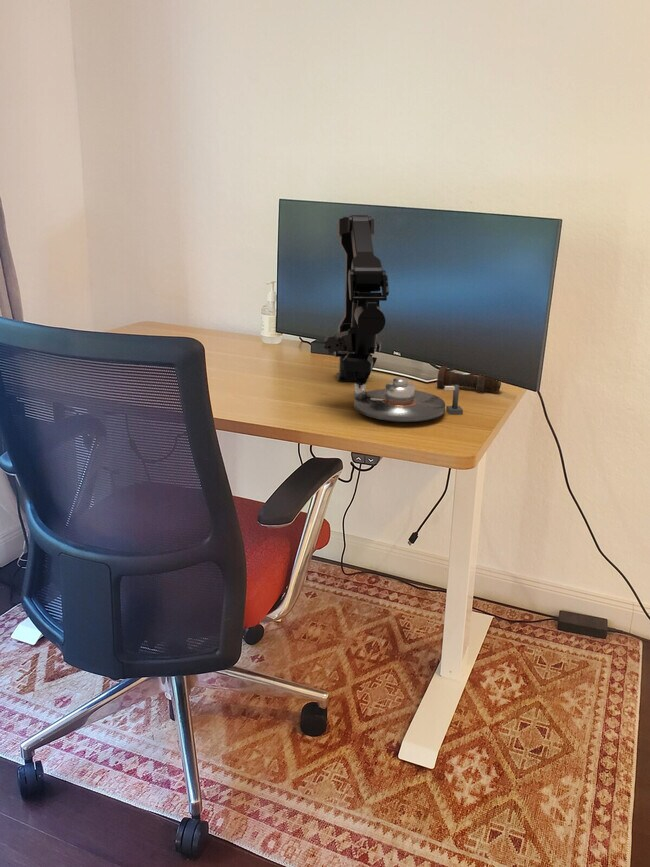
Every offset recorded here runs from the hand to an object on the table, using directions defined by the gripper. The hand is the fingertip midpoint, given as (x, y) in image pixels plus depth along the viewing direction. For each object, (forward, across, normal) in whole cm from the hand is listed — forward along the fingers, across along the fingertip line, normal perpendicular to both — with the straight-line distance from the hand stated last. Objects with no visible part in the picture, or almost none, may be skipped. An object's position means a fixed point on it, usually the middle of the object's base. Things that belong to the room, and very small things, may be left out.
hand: (360, 390), depth 170 cm
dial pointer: (+3, 0, +21) cm, 22 cm away
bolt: (+4, -19, +24) cm, 31 cm away
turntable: (+2, +3, +9) cm, 10 cm away
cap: (+1, +3, +9) cm, 10 cm away
